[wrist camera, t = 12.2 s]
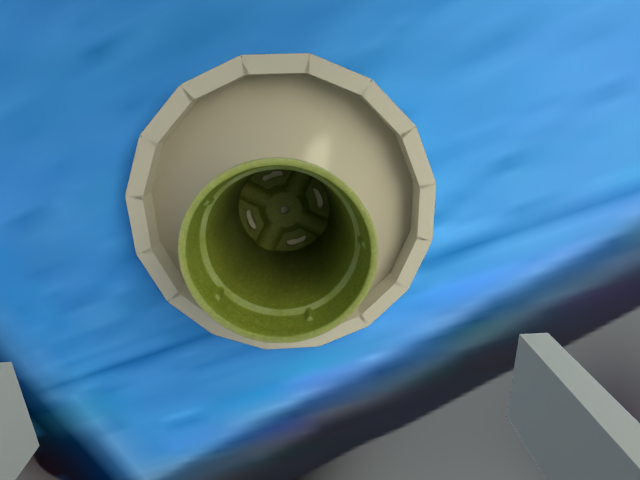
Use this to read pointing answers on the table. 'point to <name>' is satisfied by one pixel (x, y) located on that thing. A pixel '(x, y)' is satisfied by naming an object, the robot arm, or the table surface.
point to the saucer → (287, 142)
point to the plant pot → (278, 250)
